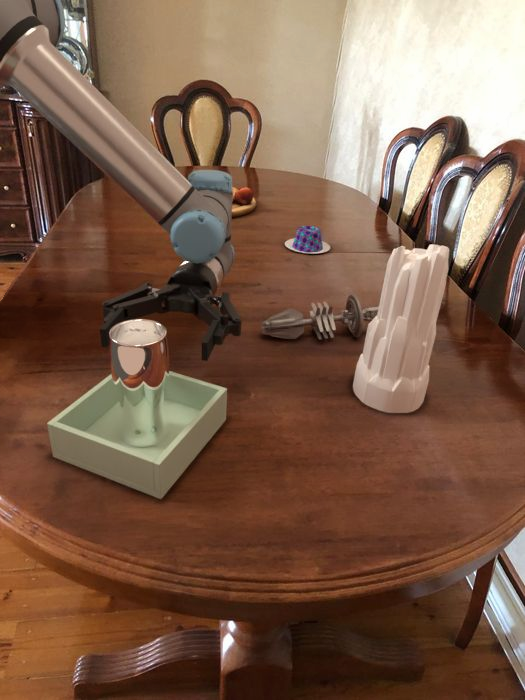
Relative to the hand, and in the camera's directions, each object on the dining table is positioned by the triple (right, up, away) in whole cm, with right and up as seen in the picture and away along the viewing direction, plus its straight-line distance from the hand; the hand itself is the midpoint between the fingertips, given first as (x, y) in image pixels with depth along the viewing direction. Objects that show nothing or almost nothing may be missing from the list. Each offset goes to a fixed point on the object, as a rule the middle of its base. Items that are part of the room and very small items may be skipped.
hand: (153, 345), depth 68 cm
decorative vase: (+34, -8, +14) cm, 37 cm away
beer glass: (-1, -12, +1) cm, 12 cm away
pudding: (+26, +26, +70) cm, 79 cm away
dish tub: (-1, -12, +1) cm, 12 cm away
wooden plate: (-4, +45, +99) cm, 109 cm away
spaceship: (+31, +2, +30) cm, 43 cm away
